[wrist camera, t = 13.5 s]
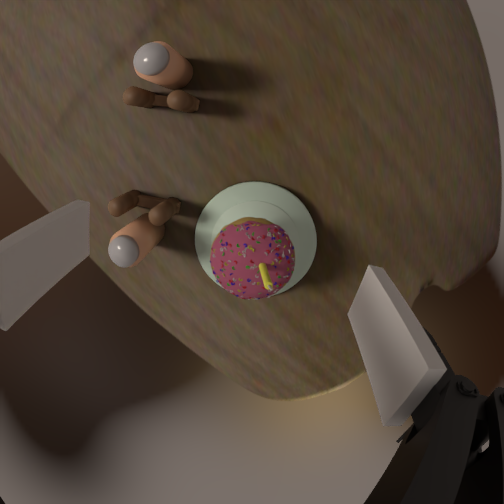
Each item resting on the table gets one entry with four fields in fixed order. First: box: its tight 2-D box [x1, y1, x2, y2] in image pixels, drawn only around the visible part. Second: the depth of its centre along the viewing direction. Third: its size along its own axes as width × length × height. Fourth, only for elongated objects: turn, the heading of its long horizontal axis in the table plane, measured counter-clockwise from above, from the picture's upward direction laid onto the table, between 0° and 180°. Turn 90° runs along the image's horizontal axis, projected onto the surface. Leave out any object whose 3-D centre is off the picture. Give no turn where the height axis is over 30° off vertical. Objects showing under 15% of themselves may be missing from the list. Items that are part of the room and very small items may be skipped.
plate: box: [195, 181, 317, 296], centre depth 34 cm, size 14×14×1 cm
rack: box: [108, 86, 200, 226], centre depth 29 cm, size 7×14×5 cm, turn 168°
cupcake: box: [210, 217, 295, 300], centre depth 28 cm, size 9×8×12 cm
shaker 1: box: [133, 41, 193, 90], centre depth 24 cm, size 4×4×8 cm
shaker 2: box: [108, 213, 165, 267], centre depth 32 cm, size 4×4×8 cm
